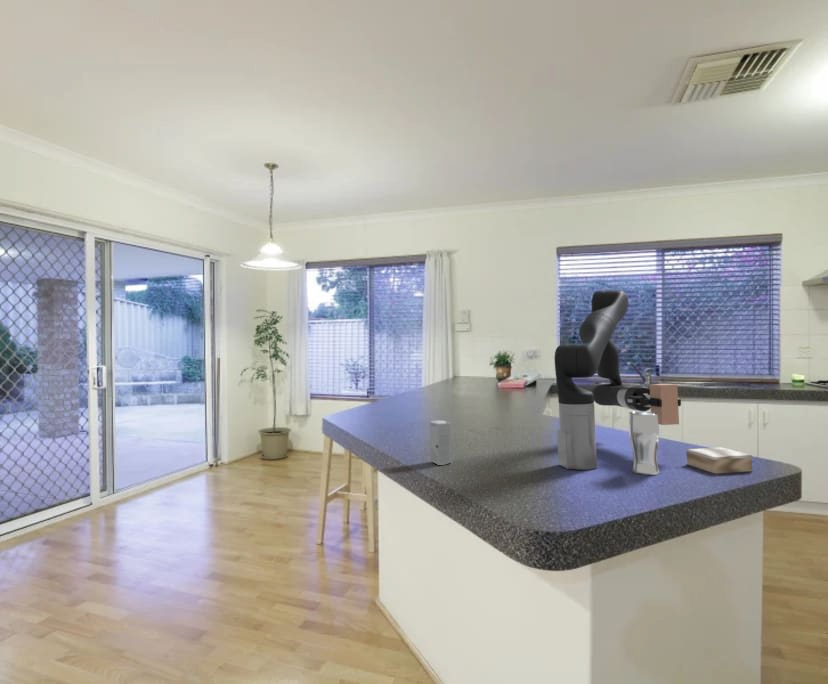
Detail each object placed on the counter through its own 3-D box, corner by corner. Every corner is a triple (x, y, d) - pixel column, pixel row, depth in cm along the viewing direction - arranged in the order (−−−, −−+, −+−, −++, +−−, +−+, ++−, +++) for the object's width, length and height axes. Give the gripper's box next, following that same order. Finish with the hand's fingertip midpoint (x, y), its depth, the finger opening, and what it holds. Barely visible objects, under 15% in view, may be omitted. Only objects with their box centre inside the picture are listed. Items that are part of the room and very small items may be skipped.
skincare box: (429, 462, 139) (427, 421, 139) (442, 460, 140) (441, 419, 141) (438, 466, 133) (436, 423, 133) (452, 464, 135) (450, 422, 135)
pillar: (662, 424, 130) (660, 385, 130) (651, 422, 135) (649, 384, 135) (679, 424, 130) (677, 384, 131) (667, 421, 135) (665, 383, 136)
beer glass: (660, 470, 121) (657, 411, 121) (661, 476, 114) (659, 415, 115) (630, 468, 124) (628, 411, 124) (630, 474, 117) (627, 414, 118)
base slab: (715, 473, 116) (714, 457, 116) (687, 464, 125) (686, 449, 126) (752, 471, 117) (751, 454, 117) (721, 462, 126) (721, 447, 127)
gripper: (612, 386, 146) (645, 389, 129) (656, 385, 148) (693, 388, 131) (613, 410, 146) (646, 417, 129) (657, 409, 147) (694, 415, 131)
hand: (670, 402), depth 130 cm, fingers closed on pillar, 5 cm apart
